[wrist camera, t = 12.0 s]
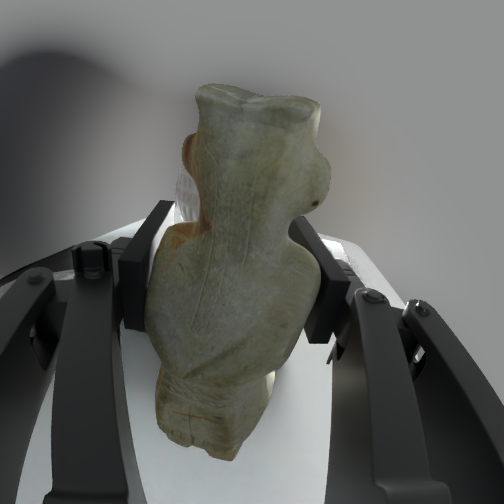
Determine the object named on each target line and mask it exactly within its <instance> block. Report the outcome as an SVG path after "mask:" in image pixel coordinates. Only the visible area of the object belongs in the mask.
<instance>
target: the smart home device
mask: <svg viewBox="0 0 504 504" xmlns="http://www.w3.org/2000/svg"><path fill="white" fill-rule="evenodd" d="M321 240H322V241H323V243H324V244H325V245H326V247H327V248H328V250H329V251H330V252H331V254H332V255H333V256H334V258H340V259H342V260H343V261H345V262H346V263H347V264H349V266H350V267H351V265H350V263H349V260H348V258H347V256H346V254H345V252H344V249H343V247H342V245H341V243H339V242H335V241H330V240H325V239H321ZM351 268H352V267H351ZM352 270H353V269H352Z"/></svg>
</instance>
